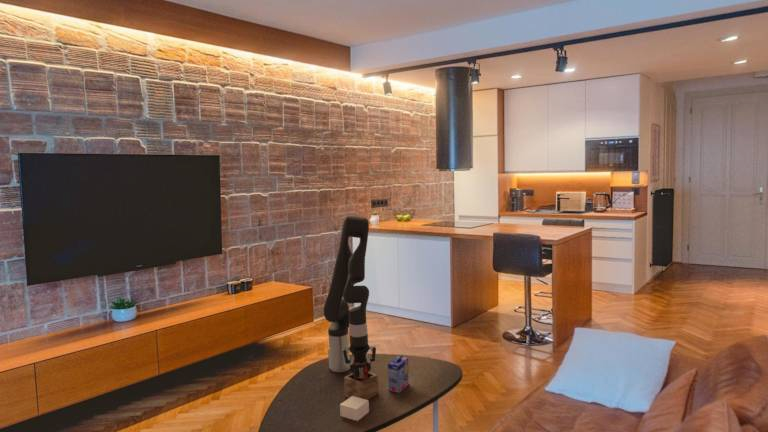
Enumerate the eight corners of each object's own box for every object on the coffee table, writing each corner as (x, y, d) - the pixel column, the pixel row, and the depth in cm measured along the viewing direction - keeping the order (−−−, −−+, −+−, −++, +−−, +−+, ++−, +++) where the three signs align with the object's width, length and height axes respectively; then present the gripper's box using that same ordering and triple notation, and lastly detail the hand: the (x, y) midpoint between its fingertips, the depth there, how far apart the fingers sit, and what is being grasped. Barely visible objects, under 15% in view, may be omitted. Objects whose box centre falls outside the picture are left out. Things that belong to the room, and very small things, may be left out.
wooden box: (344, 396, 223) (343, 377, 221) (361, 387, 230) (360, 368, 229) (362, 403, 216) (361, 383, 215) (378, 393, 224) (377, 374, 222)
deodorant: (357, 386, 218) (355, 351, 216) (351, 381, 224) (349, 347, 221) (370, 382, 221) (368, 348, 219) (364, 377, 226) (362, 343, 224)
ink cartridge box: (399, 393, 222) (398, 360, 220) (388, 391, 225) (386, 358, 223) (409, 383, 231) (408, 352, 229) (398, 381, 234) (396, 350, 232)
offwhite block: (340, 416, 206) (339, 404, 206) (352, 407, 213) (352, 395, 212) (357, 421, 202) (356, 409, 201) (369, 412, 209) (368, 400, 208)
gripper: (341, 337, 215) (343, 377, 217) (376, 334, 216) (378, 373, 219) (340, 331, 222) (343, 369, 225) (375, 328, 224) (377, 366, 226)
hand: (360, 371), depth 222 cm, fingers closed on deodorant, 6 cm apart
